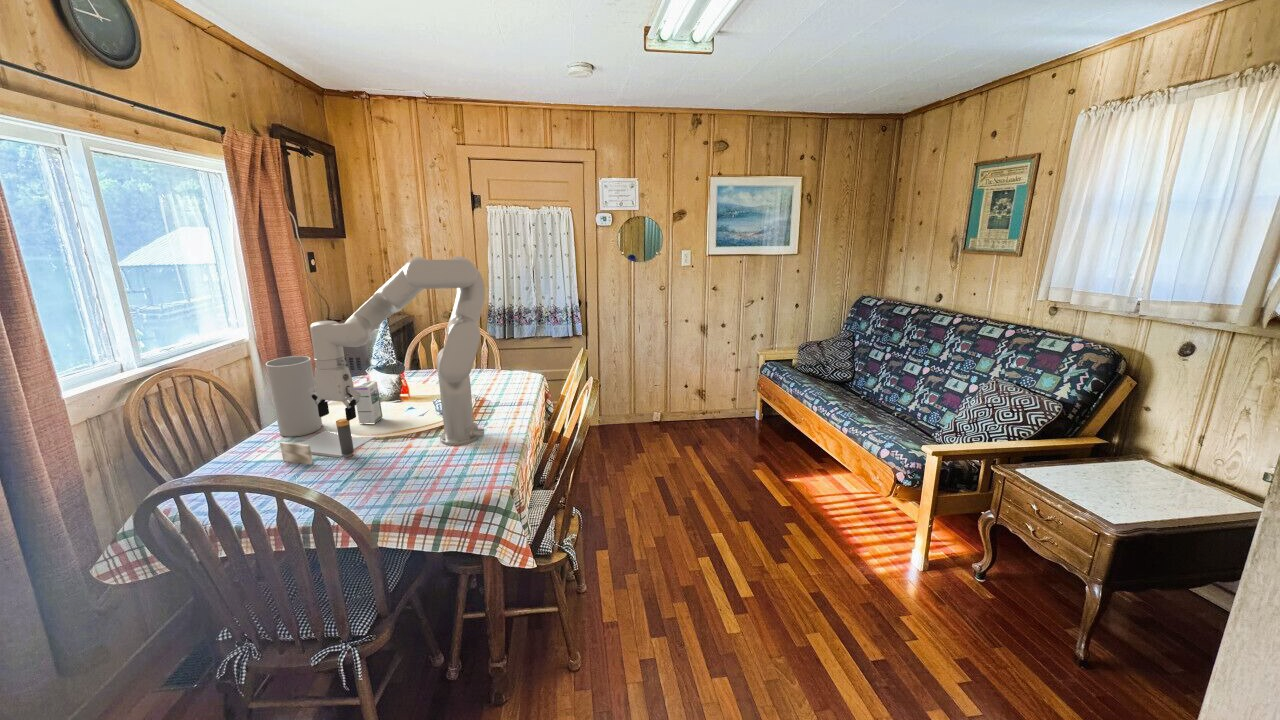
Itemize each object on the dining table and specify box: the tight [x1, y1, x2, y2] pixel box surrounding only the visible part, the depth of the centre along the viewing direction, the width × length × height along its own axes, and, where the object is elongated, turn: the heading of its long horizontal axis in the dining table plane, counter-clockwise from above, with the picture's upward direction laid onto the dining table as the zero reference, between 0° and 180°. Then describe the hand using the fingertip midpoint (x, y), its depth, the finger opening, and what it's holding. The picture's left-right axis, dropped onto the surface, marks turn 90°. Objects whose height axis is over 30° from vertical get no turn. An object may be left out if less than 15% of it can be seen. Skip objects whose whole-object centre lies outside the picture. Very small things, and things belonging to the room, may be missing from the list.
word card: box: [279, 441, 314, 465], centre depth 154 cm, size 10×1×6 cm, turn 77°
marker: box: [335, 418, 355, 459], centre depth 157 cm, size 4×4×12 cm
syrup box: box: [353, 380, 384, 424], centre depth 183 cm, size 6×6×14 cm
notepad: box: [299, 430, 375, 459], centre depth 167 cm, size 20×16×1 cm
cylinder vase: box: [265, 355, 323, 438], centre depth 174 cm, size 12×12×25 cm
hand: (337, 417), depth 155 cm, fingers open, 9 cm apart
